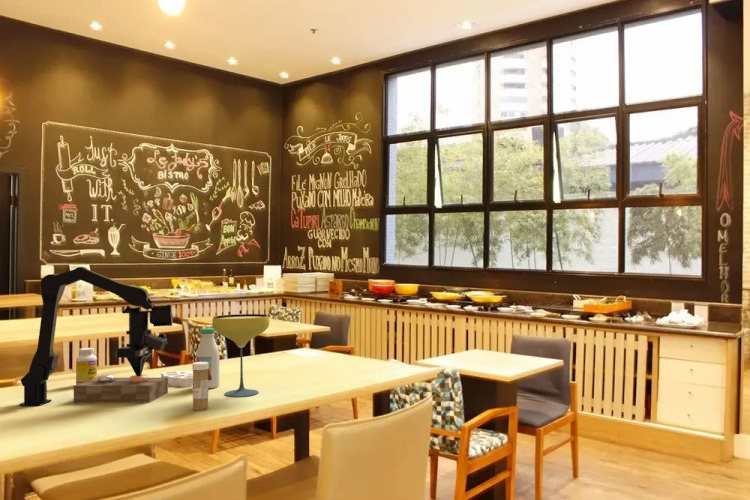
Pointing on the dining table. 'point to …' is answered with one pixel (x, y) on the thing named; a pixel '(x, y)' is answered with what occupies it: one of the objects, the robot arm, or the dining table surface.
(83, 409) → the dining table surface
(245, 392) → the cocktail glass
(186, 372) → the white recessed tray
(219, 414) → the dining table surface
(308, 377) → the dining table surface
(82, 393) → the brown flat block
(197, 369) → the sprinkles bottle
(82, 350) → the supplement bottle
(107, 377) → the knob steel
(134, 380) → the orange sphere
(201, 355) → the milk bottle
